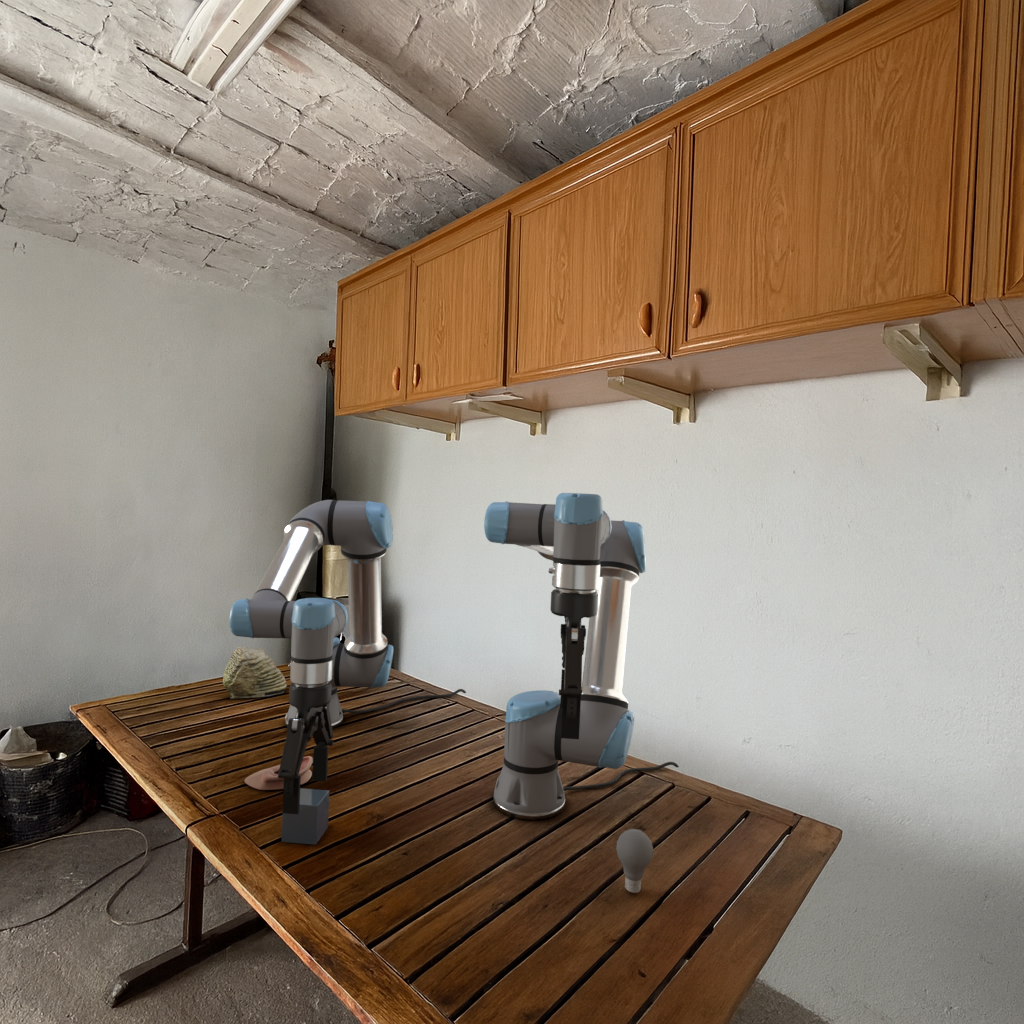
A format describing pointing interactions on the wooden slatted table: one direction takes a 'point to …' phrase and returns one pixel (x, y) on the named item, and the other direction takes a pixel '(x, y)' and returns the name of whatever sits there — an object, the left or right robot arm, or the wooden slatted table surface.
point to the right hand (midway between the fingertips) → (568, 722)
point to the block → (307, 818)
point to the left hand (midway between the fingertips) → (306, 795)
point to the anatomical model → (270, 779)
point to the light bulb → (634, 857)
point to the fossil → (252, 674)
